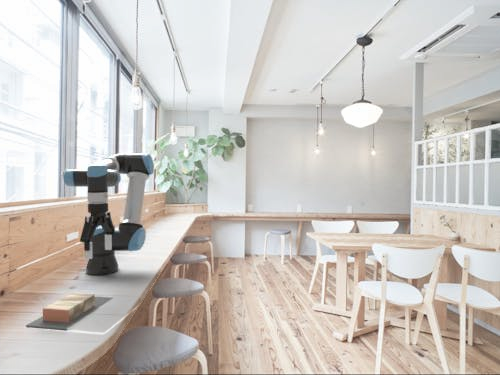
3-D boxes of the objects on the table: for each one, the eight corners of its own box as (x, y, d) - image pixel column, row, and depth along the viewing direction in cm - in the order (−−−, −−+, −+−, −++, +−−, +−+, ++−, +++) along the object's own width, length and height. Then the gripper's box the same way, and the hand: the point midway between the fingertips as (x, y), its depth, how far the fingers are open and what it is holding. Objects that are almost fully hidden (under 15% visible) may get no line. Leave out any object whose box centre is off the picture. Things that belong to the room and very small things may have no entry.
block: (72, 293, 118) (42, 308, 104) (94, 294, 117) (67, 310, 103) (72, 303, 118) (42, 320, 104) (94, 305, 117) (67, 322, 103)
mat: (81, 296, 126) (81, 295, 126) (113, 299, 124) (113, 297, 124) (26, 327, 101) (26, 325, 101) (65, 330, 99) (65, 328, 99)
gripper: (87, 206, 116) (88, 263, 117) (122, 199, 141) (123, 246, 142) (68, 206, 117) (69, 262, 118) (106, 199, 141) (107, 246, 143)
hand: (99, 253), depth 130 cm, fingers open, 13 cm apart
